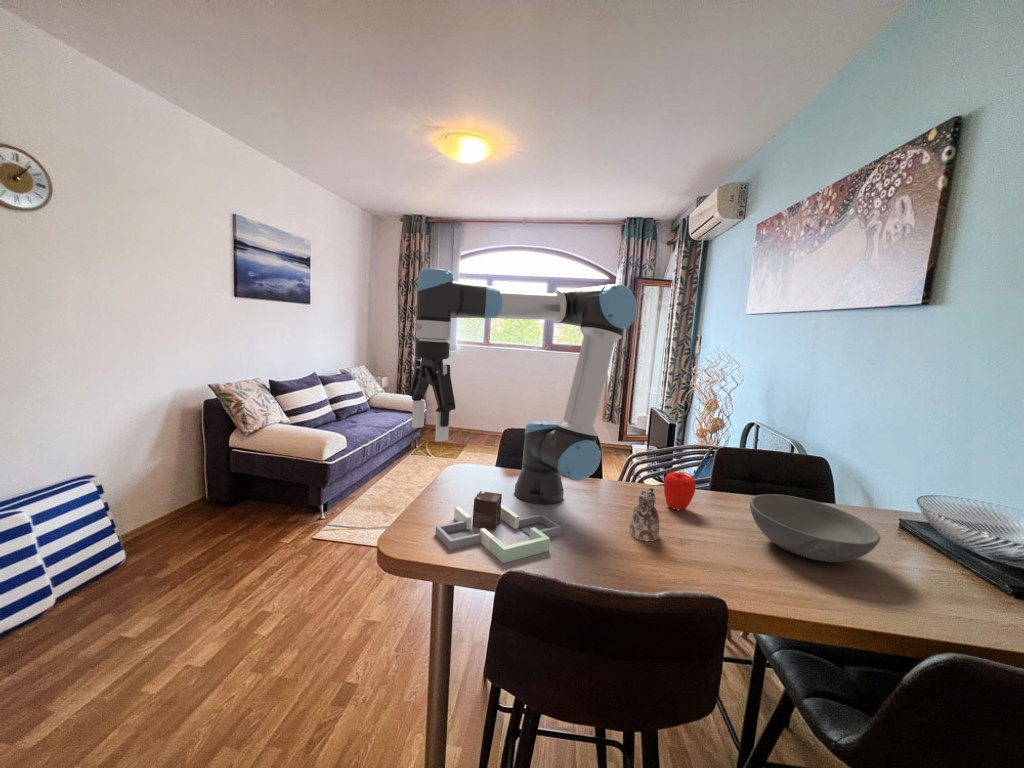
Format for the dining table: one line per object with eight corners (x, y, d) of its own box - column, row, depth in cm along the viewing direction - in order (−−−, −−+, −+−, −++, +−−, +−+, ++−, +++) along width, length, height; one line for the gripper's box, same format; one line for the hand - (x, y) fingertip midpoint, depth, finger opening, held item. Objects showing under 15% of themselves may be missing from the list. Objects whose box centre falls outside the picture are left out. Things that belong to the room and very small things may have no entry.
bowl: (844, 541, 113) (850, 505, 112) (897, 594, 89) (905, 549, 87) (737, 520, 122) (741, 487, 121) (757, 564, 97) (763, 522, 96)
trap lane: (518, 506, 119) (519, 496, 119) (574, 543, 100) (575, 531, 99) (425, 523, 104) (426, 512, 104) (470, 572, 84) (471, 558, 84)
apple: (694, 507, 129) (698, 473, 128) (689, 516, 122) (694, 480, 121) (664, 500, 134) (668, 467, 133) (658, 508, 126) (662, 473, 125)
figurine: (624, 533, 107) (629, 488, 106) (637, 526, 112) (641, 483, 111) (650, 544, 102) (656, 497, 101) (662, 536, 108) (668, 491, 106)
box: (494, 530, 103) (497, 502, 102) (471, 526, 104) (473, 498, 104) (500, 520, 109) (502, 493, 108) (478, 517, 110) (480, 490, 109)
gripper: (397, 337, 101) (394, 423, 104) (441, 342, 81) (436, 449, 83) (426, 339, 106) (423, 421, 108) (474, 344, 85) (469, 445, 88)
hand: (429, 433), depth 96 cm, fingers open, 13 cm apart
